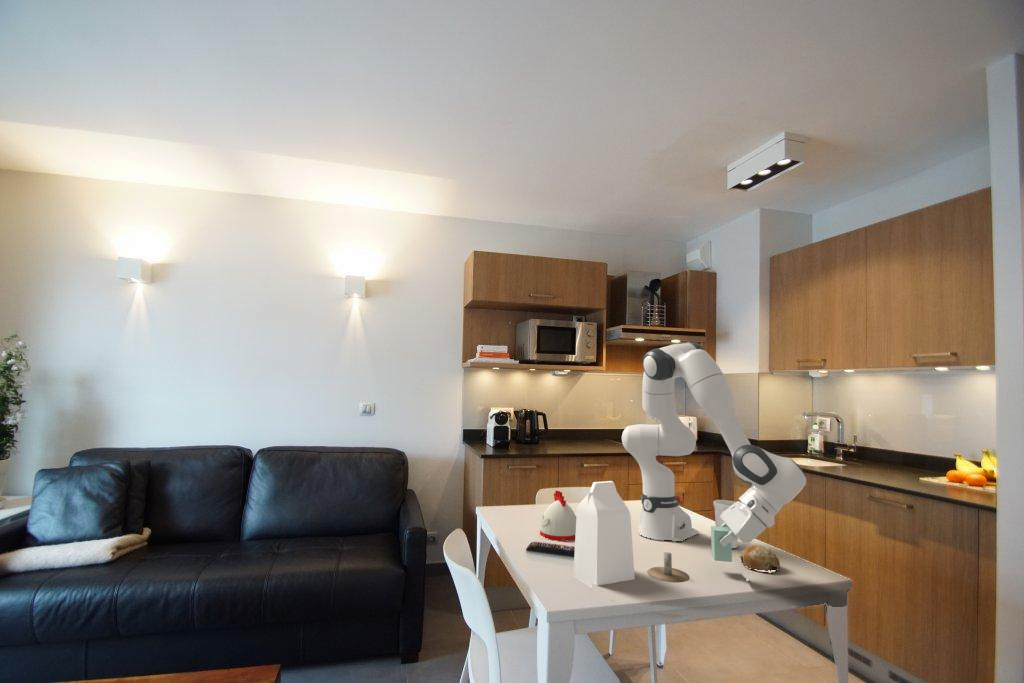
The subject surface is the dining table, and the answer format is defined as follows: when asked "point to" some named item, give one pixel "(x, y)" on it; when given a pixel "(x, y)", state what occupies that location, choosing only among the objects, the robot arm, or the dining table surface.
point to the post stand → (668, 571)
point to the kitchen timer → (558, 520)
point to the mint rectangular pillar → (717, 549)
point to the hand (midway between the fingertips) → (718, 540)
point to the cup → (719, 509)
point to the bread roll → (759, 558)
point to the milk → (603, 537)
